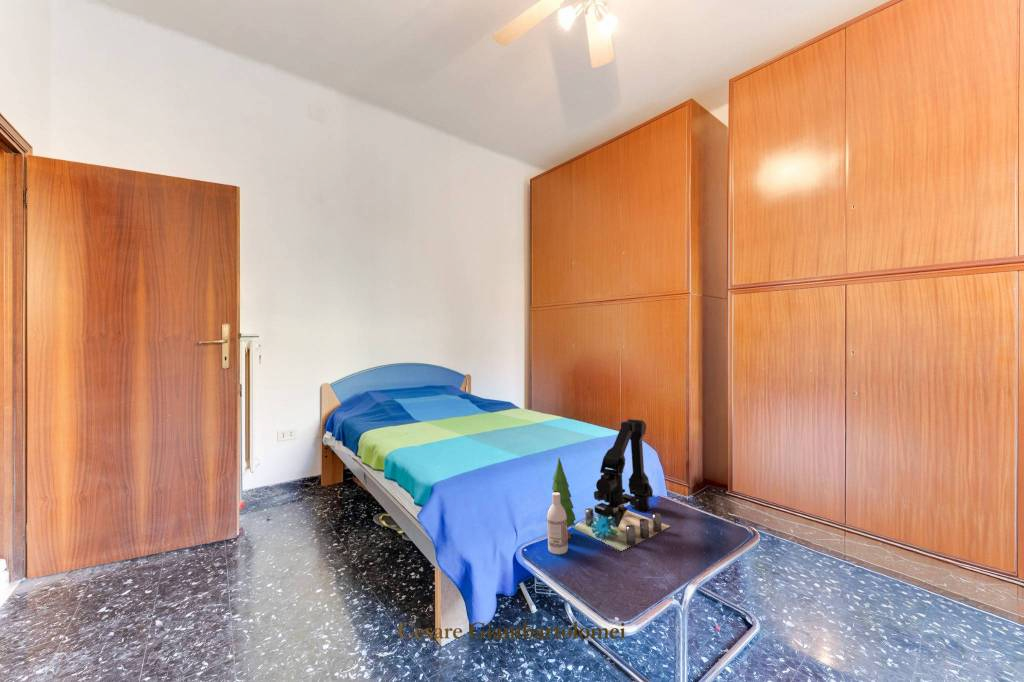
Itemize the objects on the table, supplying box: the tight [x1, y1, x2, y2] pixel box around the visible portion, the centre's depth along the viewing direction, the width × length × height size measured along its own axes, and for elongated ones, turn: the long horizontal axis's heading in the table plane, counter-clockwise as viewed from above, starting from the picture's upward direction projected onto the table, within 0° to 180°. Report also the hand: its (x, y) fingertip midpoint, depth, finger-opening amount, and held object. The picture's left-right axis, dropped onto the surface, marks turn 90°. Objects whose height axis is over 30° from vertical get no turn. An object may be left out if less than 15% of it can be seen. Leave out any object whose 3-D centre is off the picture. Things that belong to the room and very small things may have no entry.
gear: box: [591, 513, 618, 539], centre depth 150 cm, size 11×6×10 cm
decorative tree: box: [551, 457, 577, 540], centre depth 151 cm, size 10×9×30 cm
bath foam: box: [546, 491, 569, 555], centre depth 141 cm, size 7×7×20 cm
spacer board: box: [571, 509, 671, 552], centre depth 156 cm, size 30×24×1 cm
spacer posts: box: [584, 507, 663, 547], centre depth 155 cm, size 19×23×6 cm
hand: (616, 526), depth 153 cm, fingers closed
